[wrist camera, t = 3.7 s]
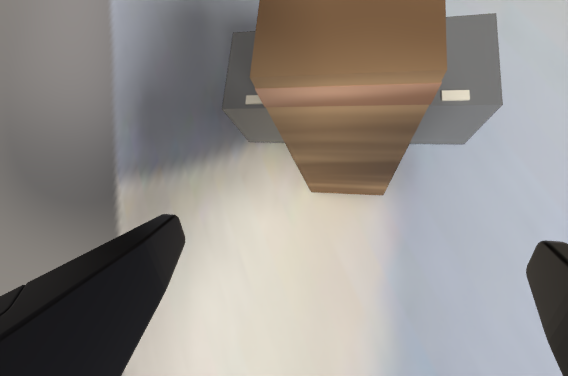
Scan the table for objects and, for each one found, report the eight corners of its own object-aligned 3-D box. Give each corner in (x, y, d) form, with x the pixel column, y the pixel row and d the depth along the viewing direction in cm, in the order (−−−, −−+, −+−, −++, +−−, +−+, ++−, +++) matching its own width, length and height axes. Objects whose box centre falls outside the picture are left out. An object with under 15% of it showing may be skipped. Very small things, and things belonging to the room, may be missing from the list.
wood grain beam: (383, 195, 19) (448, 70, 7) (311, 192, 20) (249, 78, 8) (384, 149, 20) (444, -43, 7) (314, 148, 21) (261, -23, 8)
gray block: (463, 144, 19) (503, 103, 14) (249, 142, 22) (221, 108, 17) (460, 72, 20) (496, 11, 15) (257, 80, 23) (232, 31, 18)
